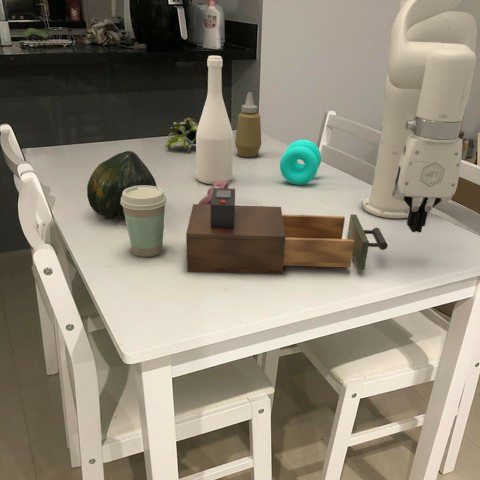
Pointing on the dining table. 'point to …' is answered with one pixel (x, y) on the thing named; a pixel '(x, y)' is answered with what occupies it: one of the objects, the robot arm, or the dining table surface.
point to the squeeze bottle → (248, 129)
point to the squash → (116, 182)
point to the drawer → (327, 241)
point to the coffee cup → (144, 218)
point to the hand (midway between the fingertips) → (414, 229)
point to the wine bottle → (214, 131)
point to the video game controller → (208, 198)
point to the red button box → (222, 208)
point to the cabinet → (236, 241)
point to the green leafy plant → (183, 133)
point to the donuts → (297, 171)
